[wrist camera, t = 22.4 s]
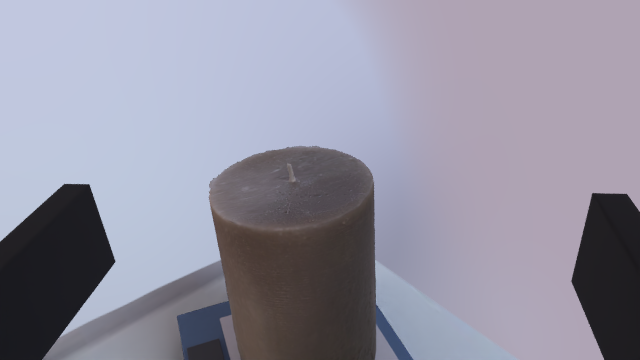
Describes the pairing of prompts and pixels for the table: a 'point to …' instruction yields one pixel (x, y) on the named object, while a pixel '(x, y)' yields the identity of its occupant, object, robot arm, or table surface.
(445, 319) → the table surface
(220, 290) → the table surface
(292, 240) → the pillar candle
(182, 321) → the scale
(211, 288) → the table surface
